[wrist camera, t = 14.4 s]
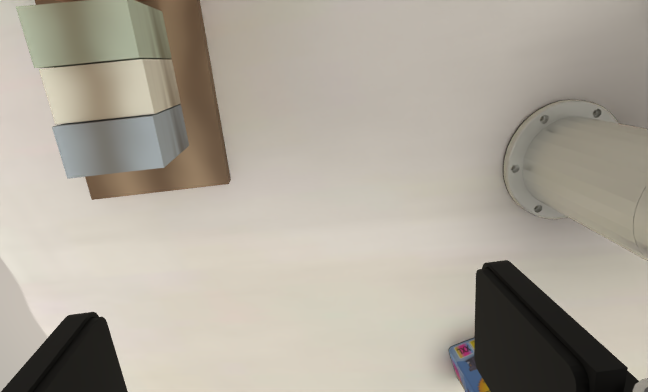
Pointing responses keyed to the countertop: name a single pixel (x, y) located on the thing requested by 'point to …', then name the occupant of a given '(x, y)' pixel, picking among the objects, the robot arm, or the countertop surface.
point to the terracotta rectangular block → (84, 0)
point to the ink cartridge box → (467, 367)
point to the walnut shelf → (195, 111)
